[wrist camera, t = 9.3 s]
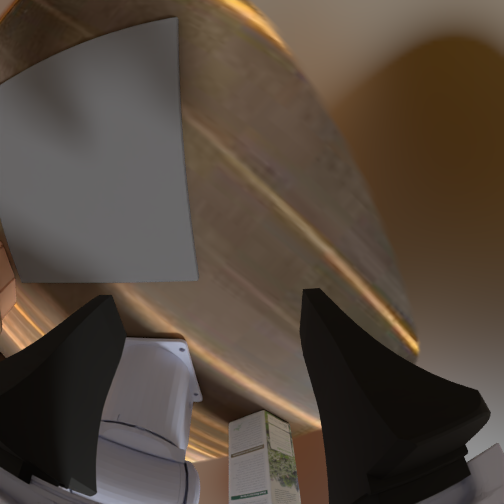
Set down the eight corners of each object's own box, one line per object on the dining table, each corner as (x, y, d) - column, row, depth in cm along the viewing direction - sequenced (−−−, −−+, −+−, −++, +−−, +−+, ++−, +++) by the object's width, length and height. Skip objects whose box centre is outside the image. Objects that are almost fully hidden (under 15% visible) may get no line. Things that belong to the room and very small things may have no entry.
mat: (199, 277, 20) (198, 280, 20) (24, 279, 20) (21, 282, 20) (178, 19, 12) (176, 16, 12) (-12, 95, 12) (-15, 95, 11)
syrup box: (226, 422, 30) (225, 527, 17) (265, 407, 28) (274, 524, 15) (255, 436, 32) (260, 530, 19) (292, 422, 30) (305, 524, 17)
